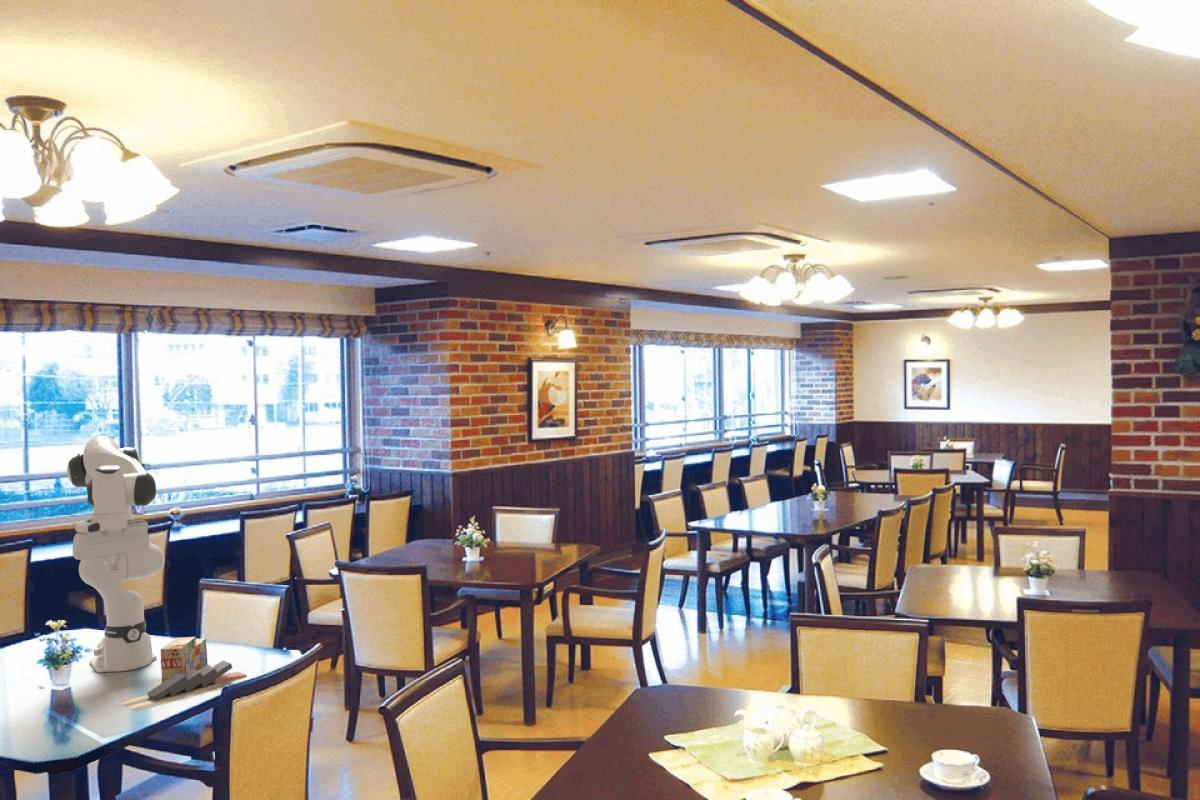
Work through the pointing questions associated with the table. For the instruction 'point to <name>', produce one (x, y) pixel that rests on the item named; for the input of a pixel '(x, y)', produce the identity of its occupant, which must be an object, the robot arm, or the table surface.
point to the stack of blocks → (183, 656)
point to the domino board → (165, 698)
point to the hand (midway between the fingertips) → (113, 570)
